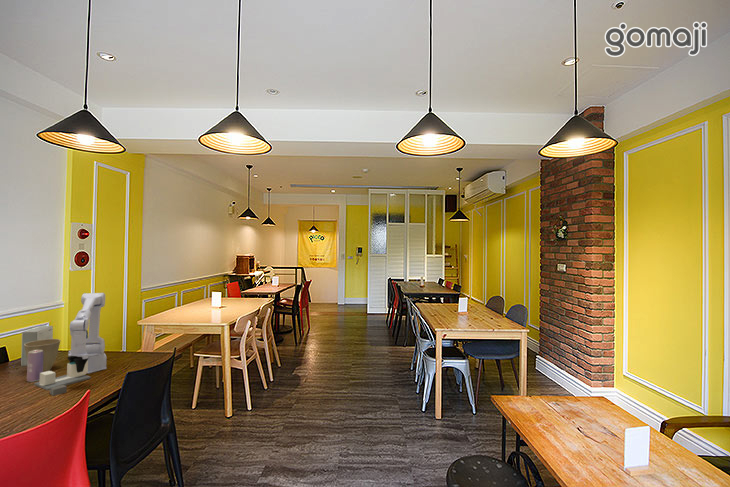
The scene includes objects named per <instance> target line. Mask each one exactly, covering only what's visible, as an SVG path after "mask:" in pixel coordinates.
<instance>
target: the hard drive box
mask: <svg viewBox="0 0 730 487" xmlns="http://www.w3.org/2000/svg"><path fill="white" fill-rule="evenodd" d="M53 335H54V326H53V325H39V326H35V327H33V328H31V329H28V330H24V331H22V332H21V356H20V357H21V358H20V360H21V362H20V364H21V367H27V361H28V360H27V357H26V353H25V347H24V344H26V343H28V342H32V341H37V340H44V339H54V336H53Z"/></svg>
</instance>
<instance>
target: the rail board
mask: <svg viewBox="0 0 730 487" xmlns="http://www.w3.org/2000/svg"><path fill="white" fill-rule="evenodd" d="M56 374H57V373H56V372H55V371H52V370H49V371H46V372H42V373H40V380H39V381H35V382H33V383H34V386H36V387H38V388H39V389H40V388H41V389H43V390H45V391H50V388H52V387H56V386H60V385H65V386H69V385H72V384H76V383H80V382H83V381H87V380H90V379H91V378H92V377H91V376H89V375H86V374H87V373H86V374H82V375H78V376H74V377H69V376H67V374H64V375H61V376H60V375H59V376H57V377H56Z"/></svg>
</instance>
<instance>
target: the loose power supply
mask: <svg viewBox="0 0 730 487" xmlns="http://www.w3.org/2000/svg"><path fill="white" fill-rule="evenodd" d="M67 386H68V385H66V386H65V385H60V386H56V387H52V388H50V390H49V394H50V396H53V397H55V396H58V395H62V394H65V393H67V389H68V388H67Z"/></svg>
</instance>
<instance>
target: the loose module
mask: <svg viewBox="0 0 730 487" xmlns="http://www.w3.org/2000/svg"><path fill="white" fill-rule="evenodd" d="M66 365H67V366H66V375H67V376H69V377H74V376H78V375H82V374H89V373H88V361H87V362H86V364H85V366H84V369H83V372H79V373H78V372H77V368H76V363H75V362H71V363H70V362H68V363H66Z"/></svg>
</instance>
